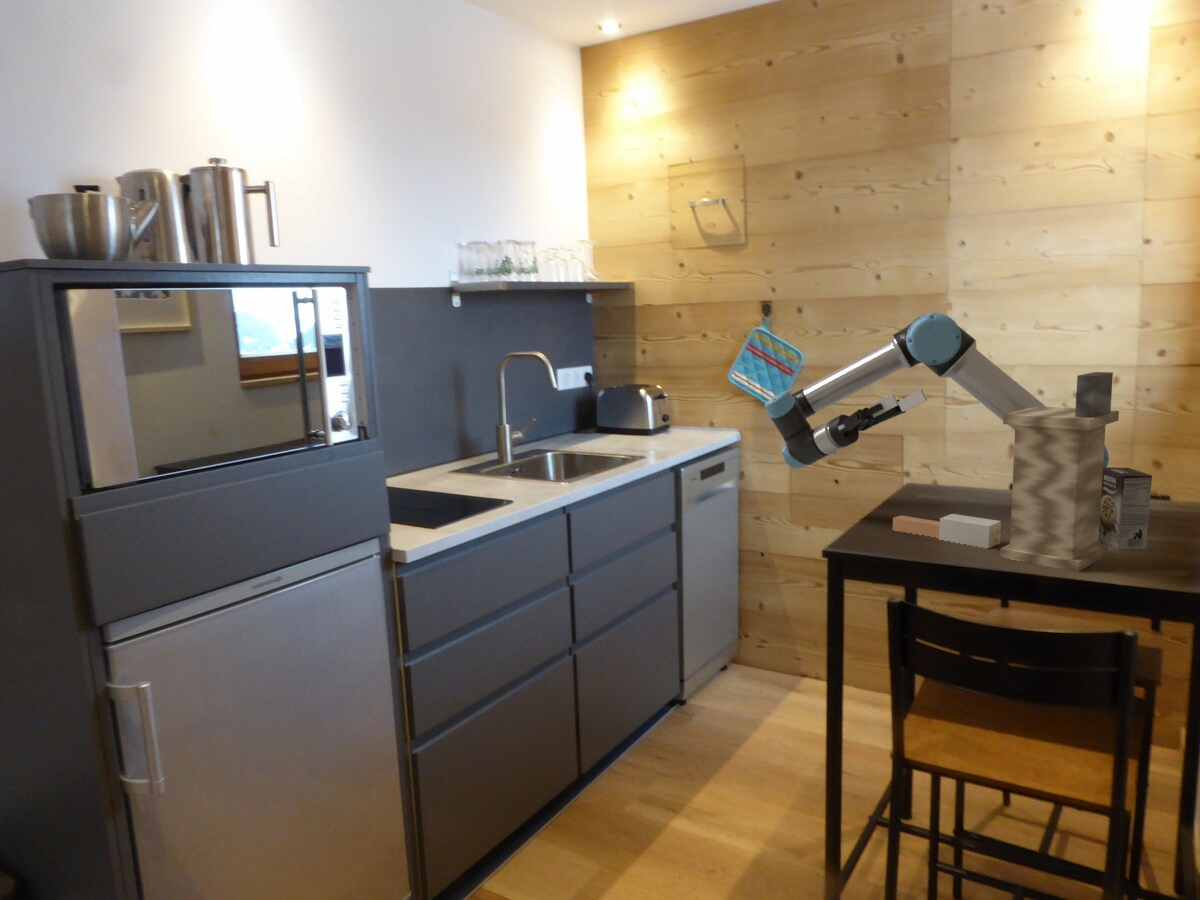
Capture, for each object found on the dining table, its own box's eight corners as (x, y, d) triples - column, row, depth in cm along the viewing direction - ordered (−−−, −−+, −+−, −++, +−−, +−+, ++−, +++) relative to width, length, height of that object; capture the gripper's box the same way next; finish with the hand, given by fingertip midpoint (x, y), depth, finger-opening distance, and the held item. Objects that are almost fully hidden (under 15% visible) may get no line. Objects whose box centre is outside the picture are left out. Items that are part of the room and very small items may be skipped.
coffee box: (1094, 538, 193) (1098, 467, 191) (1123, 538, 193) (1128, 466, 191) (1117, 550, 184) (1121, 475, 182) (1148, 549, 184) (1153, 474, 182)
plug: (890, 531, 205) (890, 510, 204) (902, 526, 209) (903, 506, 208) (991, 549, 188) (992, 526, 187) (1003, 543, 192) (1004, 521, 191)
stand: (997, 557, 181) (1005, 374, 176) (1029, 541, 193) (1038, 369, 187) (1080, 572, 170) (1091, 377, 164) (1110, 554, 181) (1121, 371, 175)
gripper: (869, 442, 223) (941, 407, 208) (815, 454, 206) (890, 417, 191) (857, 415, 225) (928, 379, 210) (802, 425, 208) (875, 386, 193)
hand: (910, 397), depth 201 cm, fingers open, 13 cm apart
